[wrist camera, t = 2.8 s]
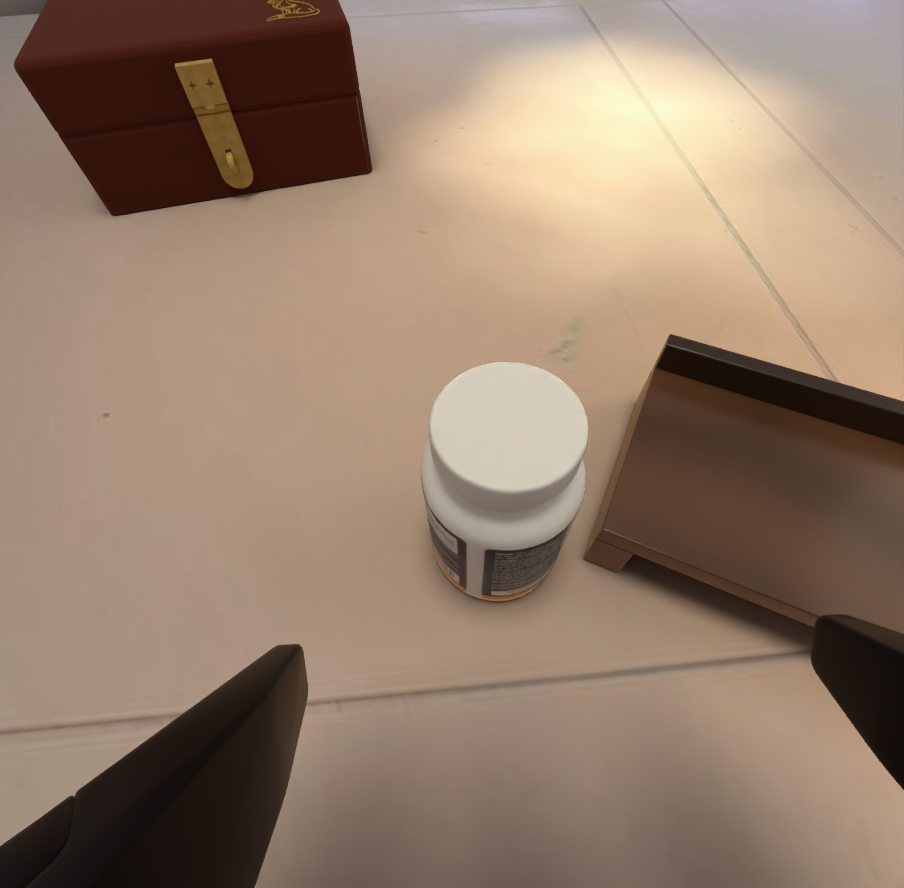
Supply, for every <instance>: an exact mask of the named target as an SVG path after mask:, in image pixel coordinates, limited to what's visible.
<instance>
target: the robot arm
mask: <svg viewBox="0 0 904 888" xmlns="http://www.w3.org/2000/svg"><path fill="white" fill-rule="evenodd" d="M811 662H812V666H813V668H814V670H815V672H816V674H817V675H818V677H819V678H820V679H821V681H822V682H823V684H824V685H825V686H826V688H827V689H828V690H829V692H830V693H831V695H832V696H833V697H834V699H835V700H836V702H837V703H838V704H839V706H840V707H841V709H842V710H843V711H844V713H845V714H846V716H847V717H848V718H849V720H850V721H851V723H852V724H853V725H854V727H855V728H856V729H857V731H858V732H859V734H860V735H861V736H862V738H863V739H864V741H865V742H866V743H867V745H868V746H869V747H870V749H871V750H872V751H873V753H874V754H875V755H876V757H877V758H878V759H879V761H880V762H881V763H882V764H883V766H884V767H885V768H886V769H887V771H888V772H889V773H890V774H891V776H892V777H893V778H894V779H895V780H896V782H897V783H898V784H899V785H900V786H901V788H902V789H903V790H904V634H902V633H899V632H896V631H894V630H891V629H888V628H885V627H882V626H879V625H876V624H873V623H870V622H867V621H864V620H861V619H858V618H855V617H852V616H849V615H844V614H837V615H822V616H820V617H818V619H817V620H816V622H815V627H814V634H813V642H812V650H811ZM307 696H308V682H307V675H306V667H305V660H304V653H303V649H302V647H301V646H300V645H299V644H290V645H278V646H275V647H274V648H272V649H271V650H270V651H268V652H267V653H266V654H264V655H263V656H261V657H260V658H259V659H257V660H256V661H255V662H253V663H252V664H251V665H249V666H248V667H246V668H245V669H244V670H242V671H241V672H240V673H238V674H237V675H235V676H234V677H233V678H231V679H230V680H229V681H227V682H226V683H224V684H223V685H222V686H220V687H219V688H218V689H216V690H215V691H214V692H212V693H211V694H209V695H208V696H207V697H205V698H204V699H203V700H201V701H200V702H198V703H197V704H196V705H194V706H193V707H192V708H190V709H189V710H188V711H186V712H185V713H183V714H182V715H181V716H179V717H178V718H177V719H175V720H174V721H172V722H171V723H170V724H168V725H167V726H166V727H164V728H163V729H161V730H160V731H159V732H157V733H156V734H155V735H153V736H152V737H151V738H149V739H148V740H146V741H145V742H144V743H142V744H141V745H140V746H138V747H137V748H135V749H134V750H133V751H131V752H130V753H129V754H127V755H126V756H124V757H123V758H122V759H120V760H119V761H118V762H116V763H115V764H113V765H112V766H111V767H109V768H108V769H107V770H105V771H104V772H103V773H101V774H100V775H98V776H97V777H96V778H94V779H93V780H92V781H90V782H89V783H87V784H86V785H85V786H83V787H82V788H81V789H79V790H78V791H77V792H76V795H75V797H74V796H69V797H68V798H67V799H65V800H64V801H63V802H61V803H60V804H59V805H57V806H56V807H54V808H53V809H52V810H50V811H49V812H48V813H46V814H45V815H43V816H42V817H41V818H39V819H38V820H37V821H35V822H34V823H32V824H31V825H29V826H28V827H27V828H25V829H24V830H22V831H21V832H20V833H18V834H17V835H15V836H14V837H13V838H11V839H10V840H8V841H7V842H6V843H4V844H3V845H1V846H0V888H255V885H256V882H257V879H258V876H259V873H260V870H261V867H262V864H263V861H264V858H265V855H266V852H267V849H268V846H269V843H270V840H271V837H272V834H273V831H274V828H275V825H276V822H277V819H278V816H279V813H280V810H281V807H282V803H283V800H284V797H285V794H286V790H287V786H288V782H289V778H290V773H291V769H292V764H293V760H294V755H295V751H296V747H297V742H298V738H299V733H300V729H301V725H302V720H303V716H304V711H305V707H306V702H307Z"/></svg>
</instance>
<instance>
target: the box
mask: <svg viewBox="0 0 904 888" xmlns="http://www.w3.org/2000/svg"><path fill="white" fill-rule="evenodd" d="M14 67H15V70H16V72H17V73H18V75H19V76H20V78H21V79H22V81H23V82H24V84H25V85H26V87H27V88H28V90H29V91H30V93H31V94H32V96H33V97H34V99H35V100H36V102H37V103H38V105H39V106H40V108H41V110H42V111H43V113H44V114H45V116H46V117H47V119H48V120H49V122H50V123H51V125H52V126H53V128H54V129H55V130H56V131H57V133H59V134H58V135H59V137H60V138H61V140H62V141H63V143H64V144H65V146H66V147H67V149H68V150H69V152H70V153H71V155H72V156H73V158H74V159H75V161H76V162H77V164H78V165H79V167H80V168H81V170H82V171H83V173H84V174H85V176H86V177H87V179H88V180H89V182H90V183H91V185H92V186H93V188H94V189H95V191H96V192H97V194H98V195H99V197H100V198H101V200H102V201H103V203H104V204H105V206H106V207H107V209H108V210H109V212H110V213H111V214H112V215H121V214H127V213H133V212H138V211H144V210H150V209H156V208H162V207H168V206H174V205H180V204H186V203H192V202H198V201H204V200H210V199H216V198H222V197H228V196H234V195H240V194H246V193H252V192H257V191H263V190H269V189H275V188H281V187H287V186H293V185H299V184H305V183H311V182H317V181H323V180H329V179H335V178H341V177H347V176H353V175H359V174H365V173H369V172H371V170H372V164H371V158H370V152H369V146H368V139H367V133H366V127H365V121H364V114H363V108H362V102H361V96H360V90H359V83H358V77H357V71H356V64H355V58H354V52H353V46H352V40H351V33H350V27H349V24H348V22H347V19H346V17H345V15H344V13H343V10H342V8H341V6H340V3H339V1H338V0H48V1H47V3H46V5H45V6H44V8H43V10H42V12H41V14H40V15H39V17H38V19H37V21H36V23H35V25H34V26H33V28H32V30H31V32H30V34H29V36H28V37H27V39H26V41H25V43H24V45H23V47H22V48H21V50H20V52H19V54H18V56H17V58H16V59H15V61H14Z"/></svg>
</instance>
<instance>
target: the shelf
mask: <svg viewBox="0 0 904 888" xmlns="http://www.w3.org/2000/svg"><path fill="white" fill-rule="evenodd" d="M634 554H636V555H638V556H641V557H643V558H646V559H648V560H650V561H653V562H655V563H658V564H660V565H663V566H665V567H668V568H670V569H672V570H675V571H677V572H680V573H682V574H685V575H687V576H690V577H692V578H694V579H697V580H699V581H702V582H704V583H707V584H709V585H712V586H714V587H716V588H719V589H721V590H724V591H726V592H729V593H731V594H733V595H736V596H738V597H741V598H743V599H746V600H748V601H751V602H753V603H755V604H758V605H760V606H763V607H765V608H768V609H770V610H773V611H775V612H777V613H780V614H782V615H785V616H787V617H790V618H792V619H795V620H797V621H799V622H802V623H804V624H807V625H809V626H812V627H815V622H816V620H817V619H818V617H820V616H822V615H837V614H844V615H849V616H852V617H855V618H858V619H861V620H864V621H867V622H870V623H873V624H876V625H879V626H882V627H885V628H888V629H891V630H894V631H896V632H899V633H902V634H904V401H900V400H897V399H893V398H890V397H886V396H883V395H879V394H876V393H873V392H869V391H866V390H862V389H859V388H855V387H852V386H848V385H845V384H841V383H838V382H835V381H831V380H828V379H824V378H821V377H817V376H814V375H810V374H807V373H803V372H800V371H797V370H793V369H790V368H786V367H783V366H779V365H776V364H772V363H769V362H765V361H762V360H759V359H755V358H752V357H748V356H745V355H741V354H738V353H734V352H731V351H727V350H724V349H721V348H717V347H714V346H710V345H707V344H703V343H700V342H696V341H693V340H689V339H686V338H683V337H679V336H676V335H672V334H670V335H669V336H668V338H667V341H666V343H665V345H664V347H663V349H662V351H661V353H660V355H659V357H658V359H657V361H656V363H655V365H654V367H653V369H652V371H651V373H650V375H649V377H648V379H647V381H646V383H645V385H644V387H643V389H642V391H641V393H640V395H639V397H638V399H637V401H636V404H635V407H634V410H633V413H632V416H631V419H630V422H629V425H628V428H627V431H626V434H625V437H624V440H623V443H622V446H621V449H620V452H619V454H618V457H617V460H616V463H615V466H614V469H613V472H612V475H611V478H610V481H609V484H608V487H607V490H606V493H605V496H604V499H603V502H602V505H601V508H600V511H599V513H598V516H597V519H596V522H595V525H594V528H593V531H592V534H591V537H590V540H589V543H588V546H587V549H586V552H585V555H584V559H585V560H588V561H590V562H593V563H595V564H597V565H600V566H602V567H604V568H607V569H609V570H611V571H614V572H616V573H618V572H619V571H620V570H621V568H622V567H623V566H624V565H625V564H626V563H627V562H628V560H629V559H630V558H631V557H632V556H633V555H634Z"/></svg>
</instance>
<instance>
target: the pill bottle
mask: <svg viewBox="0 0 904 888" xmlns="http://www.w3.org/2000/svg"><path fill="white" fill-rule="evenodd" d="M429 437H430V440H429V442H428V444H427V446H426V449H425V452H424V455H423V460H422V467H421V482H422V488H423V493H424V498H425V504H426V510H427V516H428V521H429V526H430V532H431V538H432V545H433V548H434V552H435V556H436V559H437V561H438V563H439V565H440V567H441V569H442V571H443V572H444V574H445V575H446V576H447V578H448V579H449V580H450V581H451V582H452V583H453V584H454V585H456V586H457V587H458V588H459V589H461V590H462V591H464V592H465V593H467V594H469V595H471V596H474V597H476V598H480V599H483V600H489V601H504V600H511V599H515V598H518V597H521V596H523V595H525V594H527V593H529V592H530V591H532V590H533V589H535V588H536V587H537V586H538V585H539V584H541V582H542V581H543V580H544V579H545V578H546V577H547V575H548V573H549V572H550V570H551V569H552V567H553V565H554V563H555V561H556V559H557V556H558V554H559V551H560V549H561V547H562V545H563V543H564V541H565V539H566V537H567V535H568V532H569V530H570V528H571V526H572V524H573V521H574V519H575V517H576V515H577V513H578V510H579V508H580V506H581V504H582V501H583V497H584V492H585V484H586V475H585V467H584V462H583V455H584V452H585V449H586V445H587V440H588V421H587V416H586V413H585V410H584V408H583V405H582V404H581V402H580V400H579V398H578V397H577V395H576V394H575V393H574V391H573V390H572V389H571V388H570V387H569V386H568V385H567V384H566V383H564V382H563V381H562V380H561V379H559V378H558V377H556V376H555V375H553V374H551V373H550V372H548V371H545V370H543V369H541V368H538V367H535V366H532V365H528V364H523V363H515V362H496V363H489V364H485V365H480V366H477V367H474V368H471V369H469V370H467V371H465V372H463V373H461V374H460V375H458V376H457V377H455V378H454V379H453V380H451V381H450V382H449V383H448V384H447V385H446V386H445V387H444V388H443V389H442V391H441V392H440V393H439V395H438V396H437V398H436V400H435V402H434V404H433V407H432V409H431V413H430V419H429Z"/></svg>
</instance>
